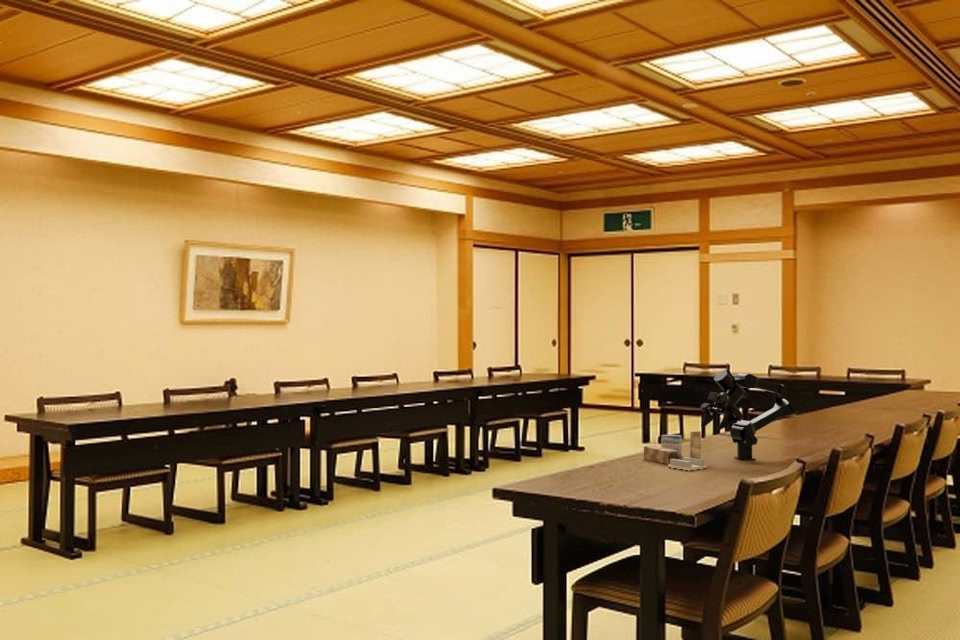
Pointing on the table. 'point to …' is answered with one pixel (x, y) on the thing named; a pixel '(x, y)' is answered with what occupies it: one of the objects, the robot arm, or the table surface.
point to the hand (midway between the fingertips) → (710, 428)
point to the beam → (660, 454)
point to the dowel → (695, 444)
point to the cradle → (687, 464)
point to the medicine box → (672, 443)
